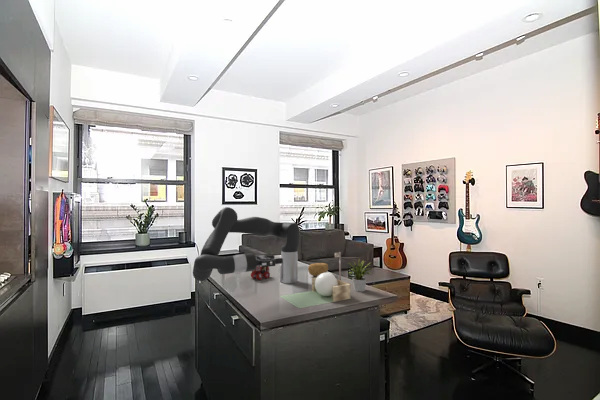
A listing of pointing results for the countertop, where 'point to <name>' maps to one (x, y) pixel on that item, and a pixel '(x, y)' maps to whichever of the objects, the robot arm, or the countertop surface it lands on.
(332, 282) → the ball
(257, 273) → the toy fire truck
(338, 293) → the wooden u-shaped frame
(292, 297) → the green mat
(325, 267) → the potato
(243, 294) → the countertop surface
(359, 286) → the house plant
